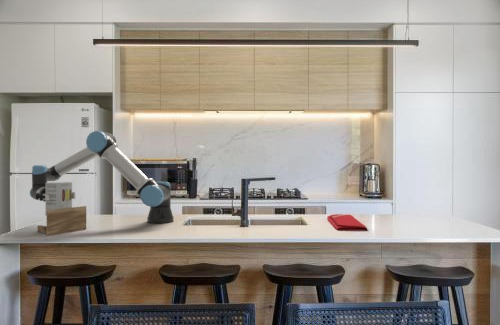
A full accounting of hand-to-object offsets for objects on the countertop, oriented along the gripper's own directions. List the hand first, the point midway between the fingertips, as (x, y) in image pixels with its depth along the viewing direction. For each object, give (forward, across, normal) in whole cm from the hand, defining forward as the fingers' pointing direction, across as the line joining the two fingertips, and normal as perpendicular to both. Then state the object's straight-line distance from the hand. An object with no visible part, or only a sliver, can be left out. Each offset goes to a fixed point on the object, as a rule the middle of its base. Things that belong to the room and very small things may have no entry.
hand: (61, 196), depth 217 cm
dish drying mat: (+91, -120, -18) cm, 151 cm away
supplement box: (-4, 0, -10) cm, 10 cm away
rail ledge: (-1, +1, -17) cm, 17 cm away
